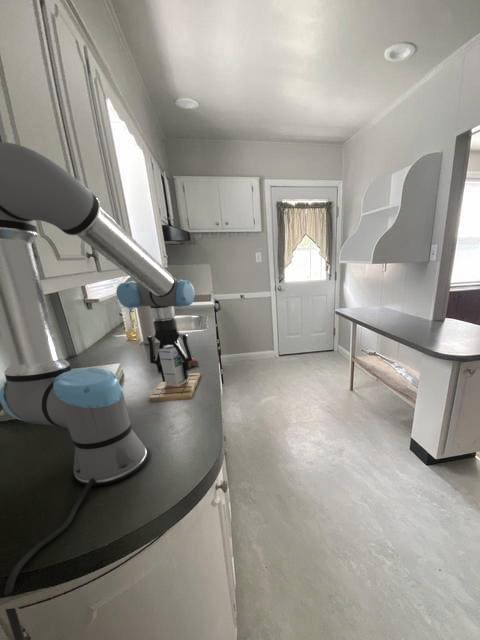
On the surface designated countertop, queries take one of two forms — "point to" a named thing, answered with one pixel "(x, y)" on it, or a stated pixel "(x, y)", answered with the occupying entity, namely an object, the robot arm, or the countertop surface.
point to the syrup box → (172, 366)
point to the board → (175, 390)
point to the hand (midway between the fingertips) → (175, 379)
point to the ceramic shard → (193, 362)
